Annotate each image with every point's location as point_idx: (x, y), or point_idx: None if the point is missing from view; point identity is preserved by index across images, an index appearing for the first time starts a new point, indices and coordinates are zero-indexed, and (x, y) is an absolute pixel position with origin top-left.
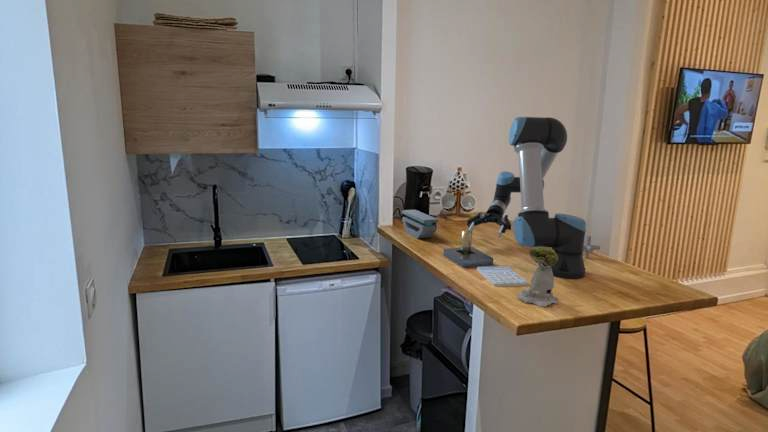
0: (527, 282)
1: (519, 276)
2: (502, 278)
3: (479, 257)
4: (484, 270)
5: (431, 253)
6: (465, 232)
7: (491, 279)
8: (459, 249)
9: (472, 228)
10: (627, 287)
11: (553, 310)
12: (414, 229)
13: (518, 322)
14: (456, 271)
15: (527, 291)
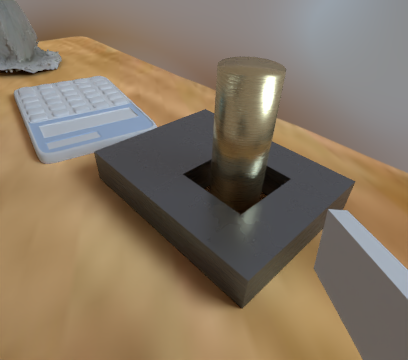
0: (14, 91)
1: (23, 107)
2: (80, 91)
3: (156, 141)
4: (131, 117)
5: (404, 210)
6: (250, 58)
7: (110, 84)
8: (283, 196)
9: (365, 317)
10: None
11: None
12: None
13: (78, 36)
14: (210, 111)
15: (36, 63)
